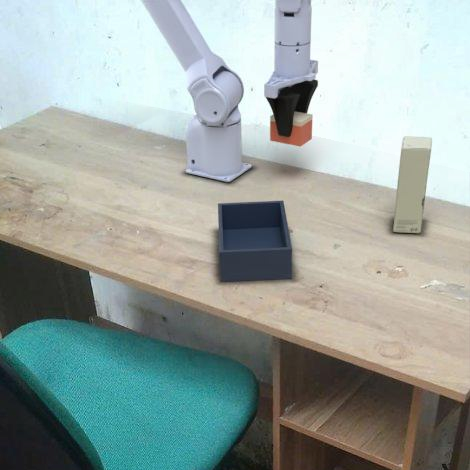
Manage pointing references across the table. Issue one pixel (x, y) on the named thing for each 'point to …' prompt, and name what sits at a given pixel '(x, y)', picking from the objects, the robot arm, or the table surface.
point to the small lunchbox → (294, 130)
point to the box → (412, 184)
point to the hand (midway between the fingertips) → (290, 131)
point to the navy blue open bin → (254, 241)
